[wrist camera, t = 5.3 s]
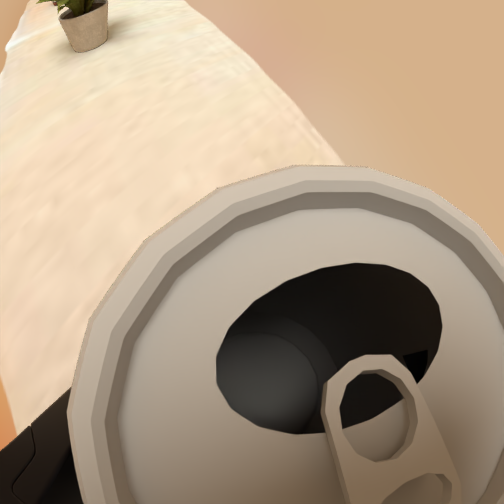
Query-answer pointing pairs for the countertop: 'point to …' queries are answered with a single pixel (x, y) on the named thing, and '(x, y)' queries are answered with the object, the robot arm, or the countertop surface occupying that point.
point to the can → (298, 351)
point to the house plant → (84, 22)
